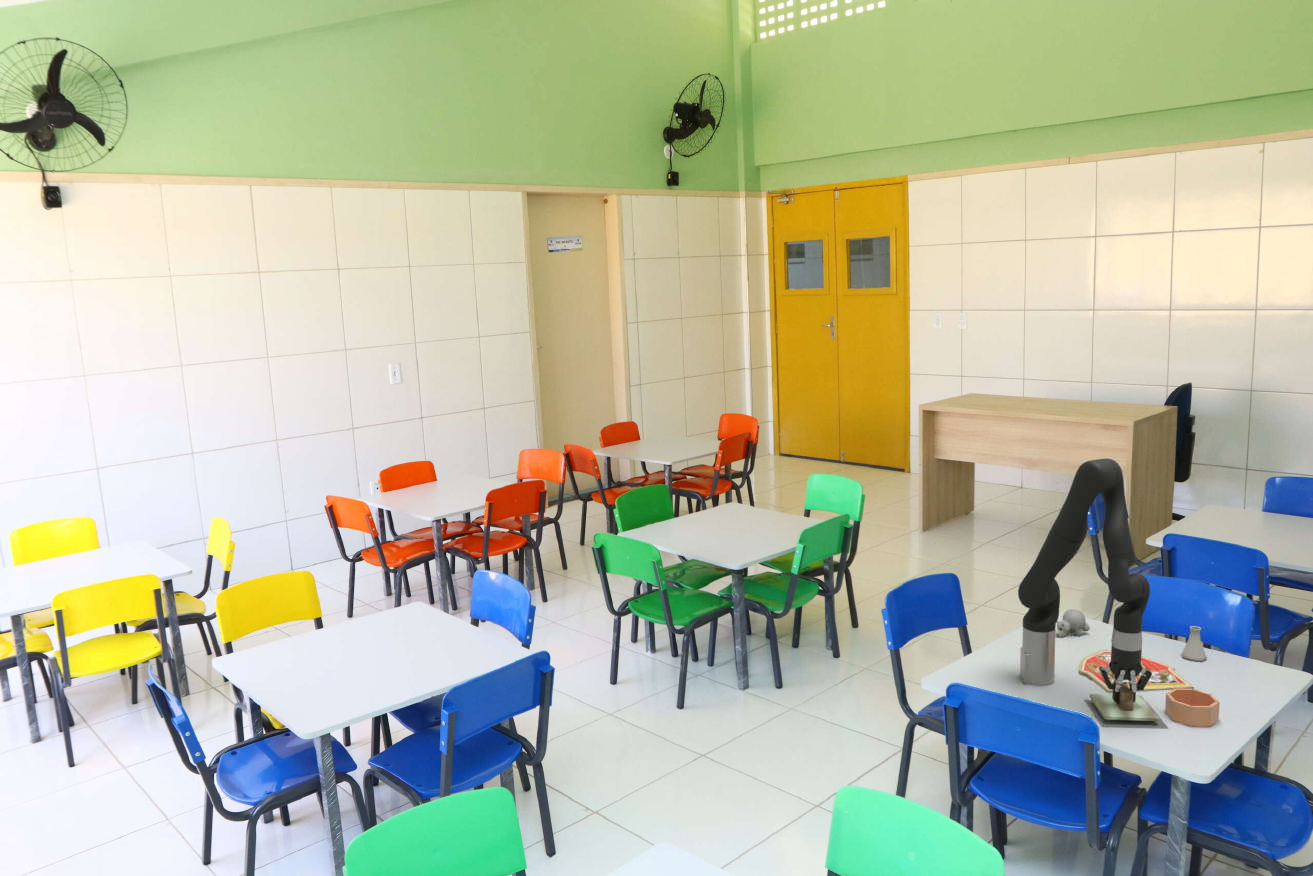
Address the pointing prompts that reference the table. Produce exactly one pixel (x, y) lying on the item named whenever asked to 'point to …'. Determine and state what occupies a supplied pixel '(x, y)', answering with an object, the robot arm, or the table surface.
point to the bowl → (1192, 707)
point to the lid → (1124, 706)
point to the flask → (1194, 646)
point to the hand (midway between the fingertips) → (1123, 702)
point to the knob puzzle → (1159, 679)
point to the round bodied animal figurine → (1072, 623)
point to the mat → (1124, 723)
